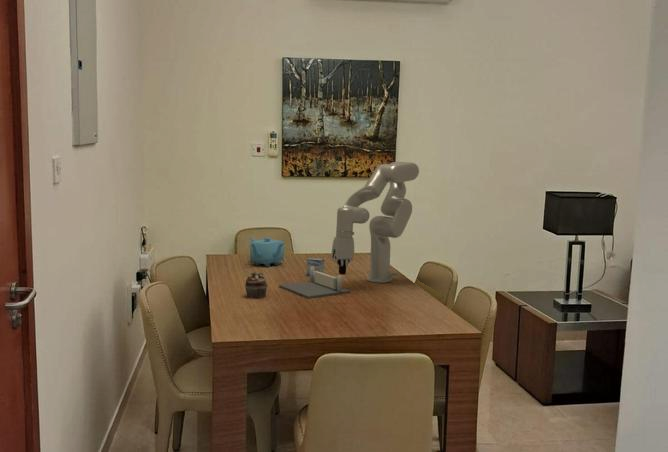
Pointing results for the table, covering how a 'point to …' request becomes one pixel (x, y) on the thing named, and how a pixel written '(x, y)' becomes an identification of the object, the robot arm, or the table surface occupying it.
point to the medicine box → (315, 265)
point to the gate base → (314, 288)
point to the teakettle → (266, 251)
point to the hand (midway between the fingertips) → (342, 274)
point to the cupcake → (256, 286)
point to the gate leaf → (325, 279)
